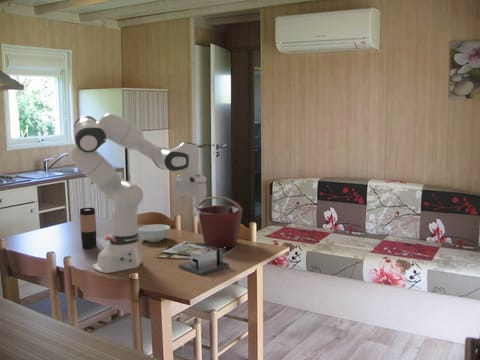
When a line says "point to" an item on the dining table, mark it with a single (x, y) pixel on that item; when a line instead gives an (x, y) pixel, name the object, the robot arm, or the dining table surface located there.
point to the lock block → (204, 257)
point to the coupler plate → (207, 269)
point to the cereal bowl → (154, 232)
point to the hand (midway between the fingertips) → (190, 206)
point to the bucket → (220, 223)
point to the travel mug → (88, 228)
